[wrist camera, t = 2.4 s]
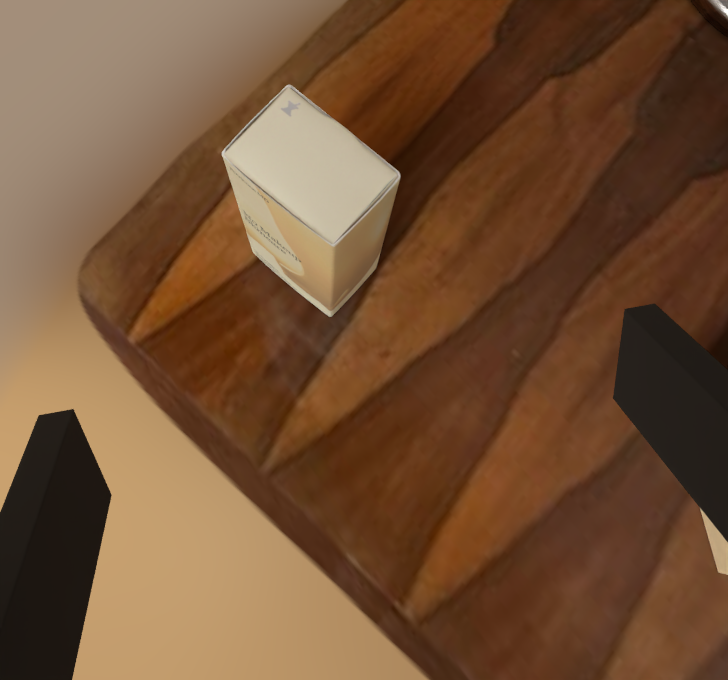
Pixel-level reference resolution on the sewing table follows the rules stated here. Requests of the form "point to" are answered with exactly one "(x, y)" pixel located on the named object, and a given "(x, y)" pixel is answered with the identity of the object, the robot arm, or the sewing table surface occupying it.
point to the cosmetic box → (311, 198)
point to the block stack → (717, 545)
